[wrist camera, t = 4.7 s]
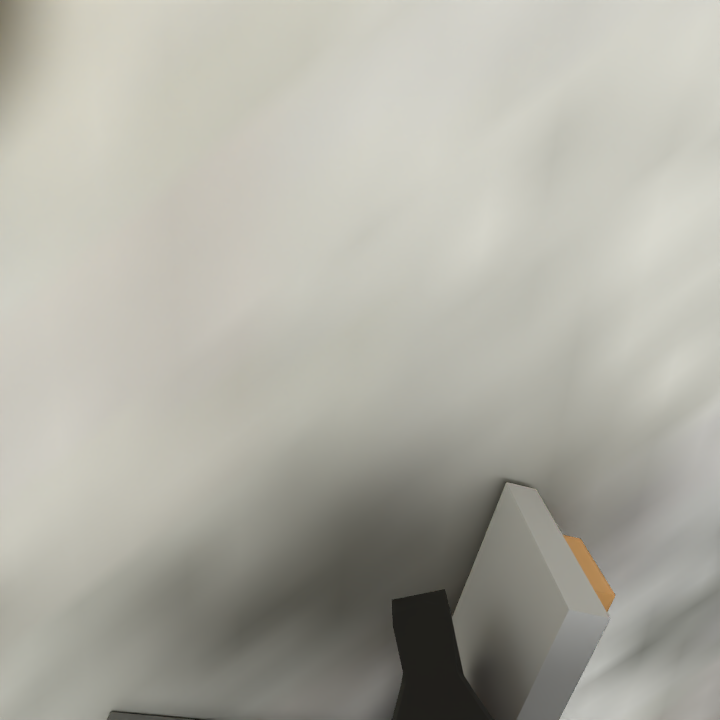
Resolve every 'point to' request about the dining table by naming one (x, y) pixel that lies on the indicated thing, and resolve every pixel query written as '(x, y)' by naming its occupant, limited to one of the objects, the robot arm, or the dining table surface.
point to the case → (138, 717)
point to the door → (529, 611)
